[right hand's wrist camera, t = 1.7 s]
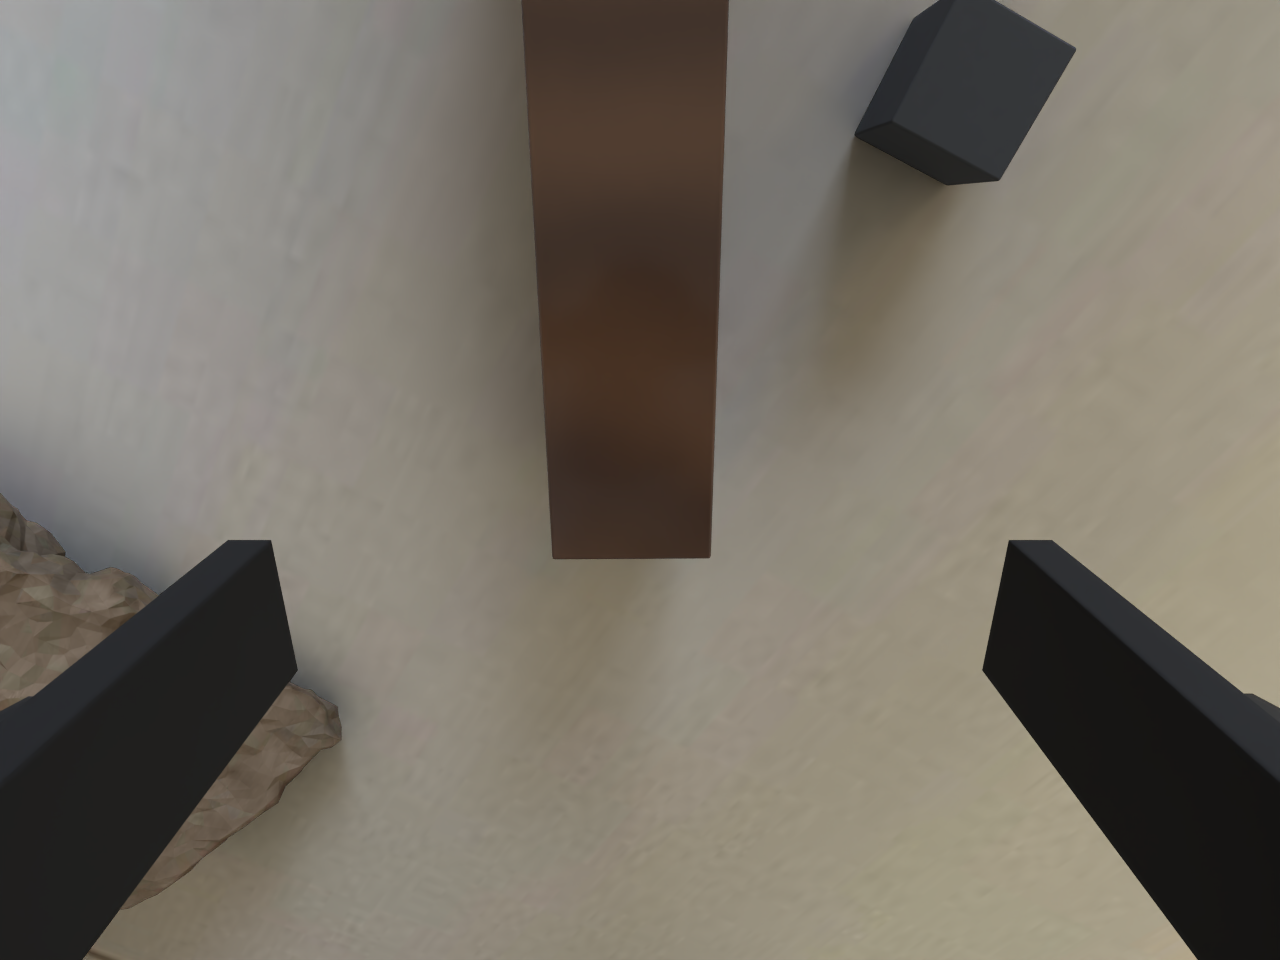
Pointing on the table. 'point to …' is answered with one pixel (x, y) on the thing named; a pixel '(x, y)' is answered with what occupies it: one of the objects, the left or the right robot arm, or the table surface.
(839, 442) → the table surface
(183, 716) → the right robot arm
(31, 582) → the stone
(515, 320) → the table surface
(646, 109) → the walnut bar
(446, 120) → the table surface
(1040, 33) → the grey block
